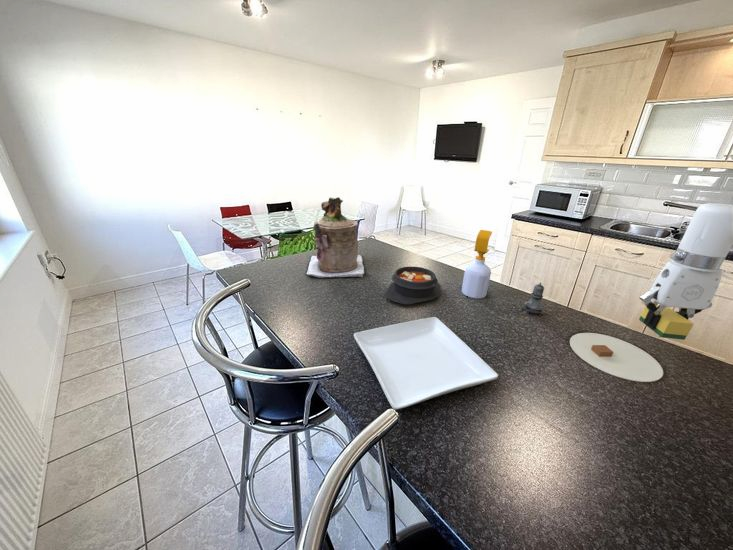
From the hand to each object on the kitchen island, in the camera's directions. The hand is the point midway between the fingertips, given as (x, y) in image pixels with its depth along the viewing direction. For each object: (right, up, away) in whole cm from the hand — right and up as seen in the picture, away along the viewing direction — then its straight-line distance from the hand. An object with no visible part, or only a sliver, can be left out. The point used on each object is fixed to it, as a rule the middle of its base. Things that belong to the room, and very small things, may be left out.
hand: (661, 326), depth 74 cm
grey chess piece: (-18, -1, +26) cm, 32 cm away
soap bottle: (-33, +6, +39) cm, 52 cm away
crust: (-10, -8, +6) cm, 15 cm away
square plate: (-61, -10, +3) cm, 62 cm away
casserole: (-56, +6, +38) cm, 68 cm away
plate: (-8, -10, +6) cm, 14 cm away
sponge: (0, -1, 0) cm, 1 cm away
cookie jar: (-88, +16, +60) cm, 108 cm away
